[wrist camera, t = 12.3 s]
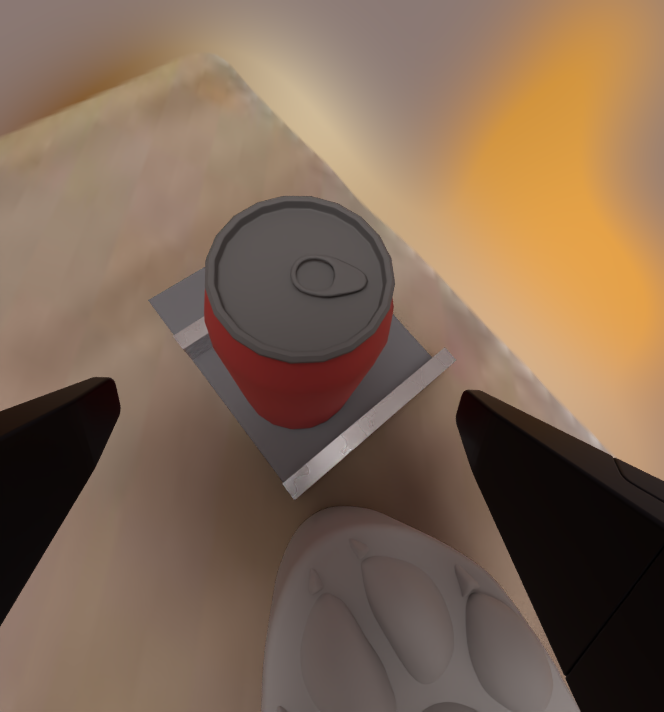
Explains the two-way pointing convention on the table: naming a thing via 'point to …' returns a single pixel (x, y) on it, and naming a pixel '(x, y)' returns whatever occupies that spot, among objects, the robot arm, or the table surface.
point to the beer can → (298, 305)
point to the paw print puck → (397, 627)
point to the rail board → (324, 441)
